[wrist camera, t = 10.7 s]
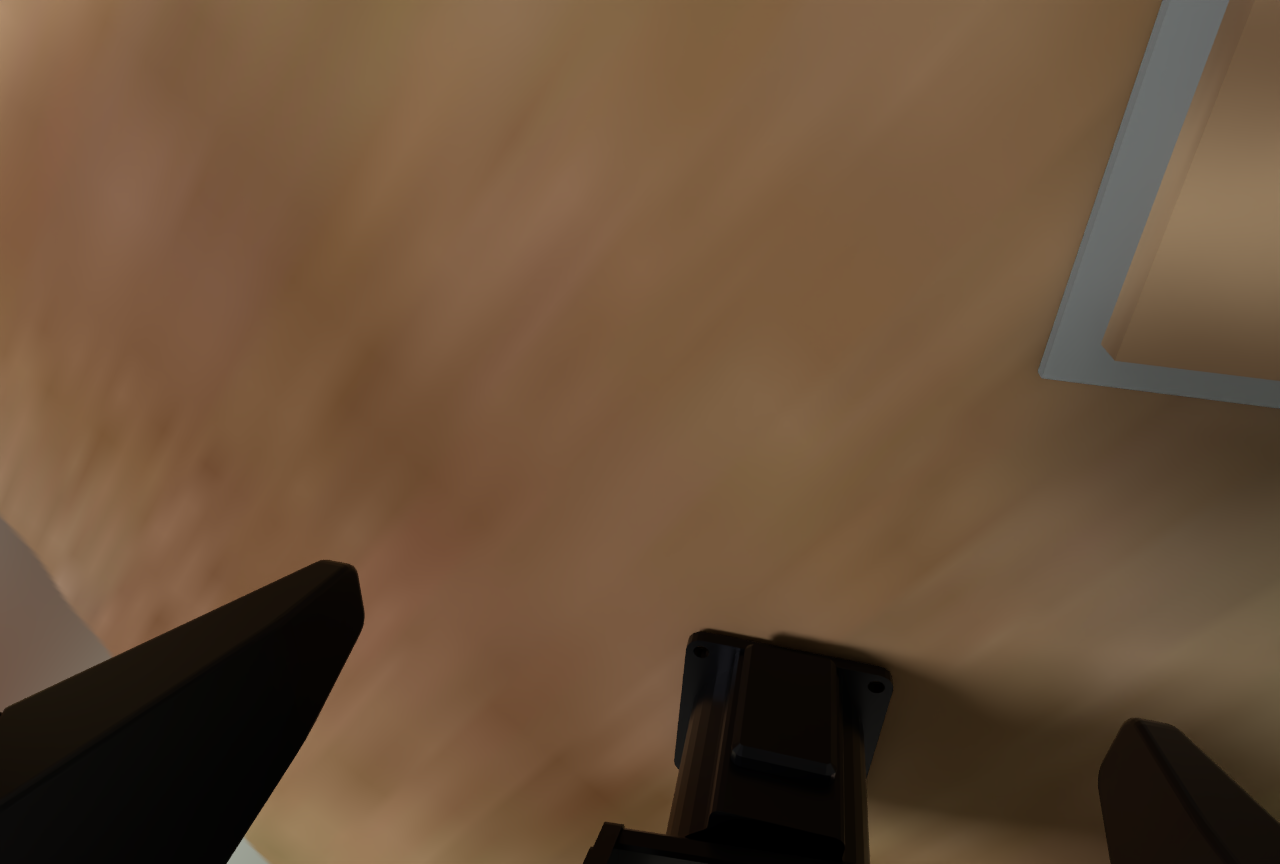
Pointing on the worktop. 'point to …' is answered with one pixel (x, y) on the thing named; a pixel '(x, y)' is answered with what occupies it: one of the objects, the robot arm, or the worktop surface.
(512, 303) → the worktop surface
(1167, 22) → the mat
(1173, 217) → the lid
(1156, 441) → the worktop surface
